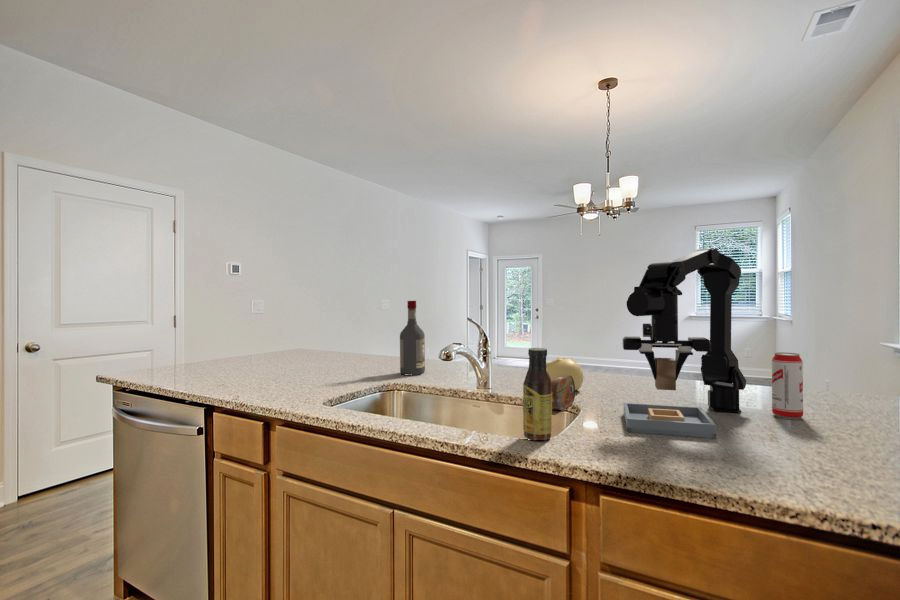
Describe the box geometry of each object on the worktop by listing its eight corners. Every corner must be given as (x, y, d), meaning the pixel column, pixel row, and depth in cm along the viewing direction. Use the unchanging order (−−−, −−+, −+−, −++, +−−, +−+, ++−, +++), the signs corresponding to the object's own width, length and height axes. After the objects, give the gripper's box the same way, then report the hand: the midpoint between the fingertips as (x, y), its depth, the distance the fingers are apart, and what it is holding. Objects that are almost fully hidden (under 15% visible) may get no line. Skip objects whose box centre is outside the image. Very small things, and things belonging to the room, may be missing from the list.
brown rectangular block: (673, 386, 109) (672, 358, 109) (675, 390, 105) (675, 360, 105) (655, 386, 110) (654, 357, 110) (657, 389, 106) (656, 360, 106)
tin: (558, 413, 120) (557, 382, 119) (547, 412, 121) (546, 381, 121) (576, 402, 132) (576, 373, 132) (565, 400, 134) (565, 372, 134)
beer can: (797, 414, 115) (796, 352, 115) (807, 421, 109) (807, 355, 109) (768, 412, 117) (768, 351, 117) (777, 419, 111) (776, 354, 111)
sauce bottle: (520, 434, 102) (519, 347, 102) (547, 432, 103) (546, 346, 103) (527, 443, 96) (526, 350, 95) (556, 442, 96) (555, 349, 96)
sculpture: (569, 385, 156) (568, 354, 156) (590, 392, 145) (590, 359, 145) (540, 387, 153) (539, 356, 153) (559, 395, 141) (559, 361, 141)
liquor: (399, 375, 181) (397, 301, 181) (405, 371, 190) (403, 300, 190) (421, 375, 179) (420, 300, 179) (426, 371, 188) (425, 300, 188)
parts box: (700, 419, 112) (700, 407, 112) (716, 438, 97) (716, 424, 97) (623, 414, 118) (623, 402, 118) (627, 431, 103) (627, 418, 103)
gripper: (701, 313, 112) (701, 375, 112) (621, 313, 118) (622, 372, 118) (711, 315, 101) (712, 384, 102) (623, 315, 107) (624, 380, 107)
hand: (665, 379), depth 107 cm, fingers closed on brown rectangular block, 4 cm apart
